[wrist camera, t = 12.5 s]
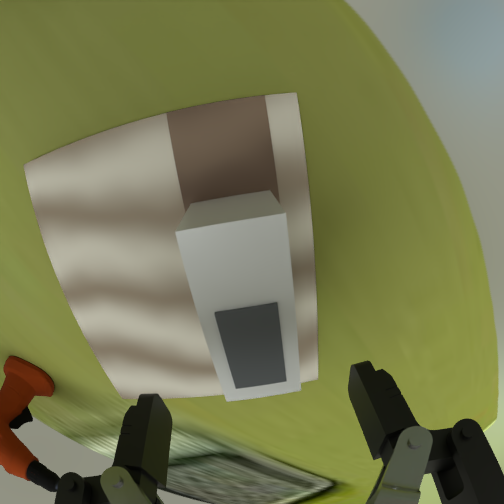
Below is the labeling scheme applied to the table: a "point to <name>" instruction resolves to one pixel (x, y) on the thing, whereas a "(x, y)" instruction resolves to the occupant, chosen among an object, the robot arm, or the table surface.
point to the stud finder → (243, 292)
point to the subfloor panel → (167, 232)
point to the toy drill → (22, 421)
